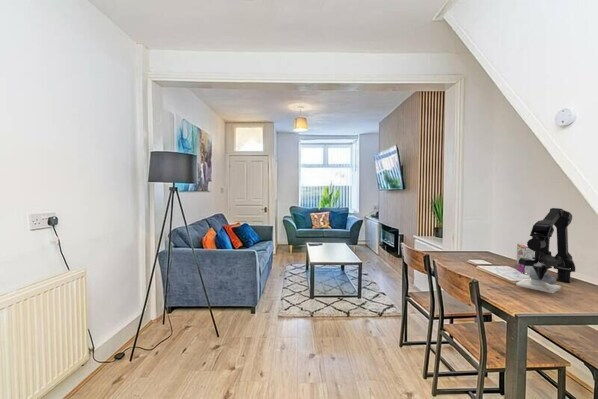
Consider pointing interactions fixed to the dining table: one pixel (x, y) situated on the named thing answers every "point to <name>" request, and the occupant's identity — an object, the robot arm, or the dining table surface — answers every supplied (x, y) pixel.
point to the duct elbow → (545, 278)
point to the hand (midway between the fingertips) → (540, 279)
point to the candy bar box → (524, 253)
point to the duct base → (527, 284)
